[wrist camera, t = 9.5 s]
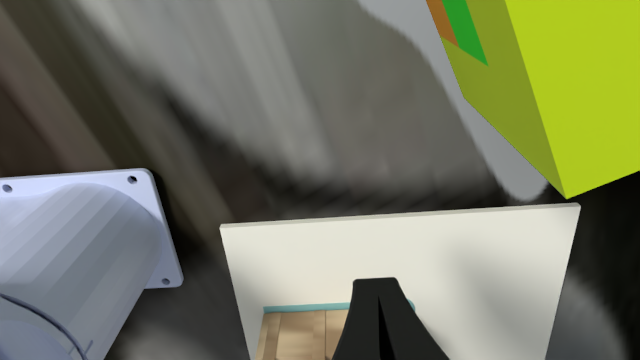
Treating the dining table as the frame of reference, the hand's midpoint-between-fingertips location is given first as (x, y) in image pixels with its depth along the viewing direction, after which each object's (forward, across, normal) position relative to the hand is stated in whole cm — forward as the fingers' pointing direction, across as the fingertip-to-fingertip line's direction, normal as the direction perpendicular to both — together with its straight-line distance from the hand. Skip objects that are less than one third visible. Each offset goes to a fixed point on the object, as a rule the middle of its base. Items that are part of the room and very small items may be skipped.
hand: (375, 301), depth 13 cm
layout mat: (+10, -2, +12) cm, 16 cm away
